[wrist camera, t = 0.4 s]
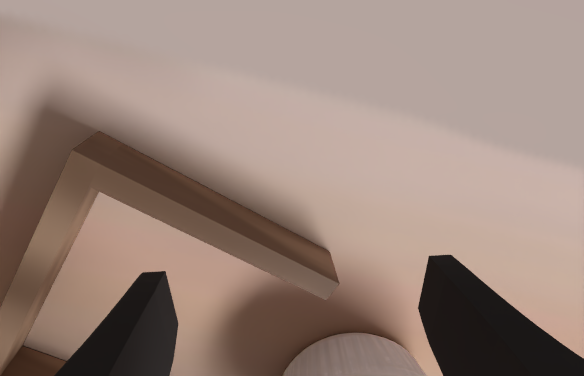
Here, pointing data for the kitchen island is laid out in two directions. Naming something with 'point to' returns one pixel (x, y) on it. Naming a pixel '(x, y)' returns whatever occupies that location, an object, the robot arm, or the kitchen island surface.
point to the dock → (158, 204)
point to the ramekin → (354, 358)
